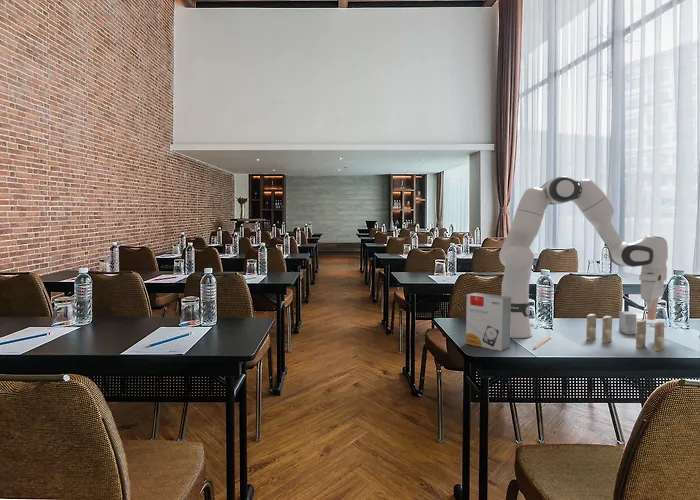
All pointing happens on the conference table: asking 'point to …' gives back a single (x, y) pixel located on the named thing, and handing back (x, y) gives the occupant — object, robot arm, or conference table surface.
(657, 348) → the end domino
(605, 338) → the domino
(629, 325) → the medicine box
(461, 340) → the conference table surface
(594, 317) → the domino
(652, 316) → the domino
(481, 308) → the hard drive box
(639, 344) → the domino
